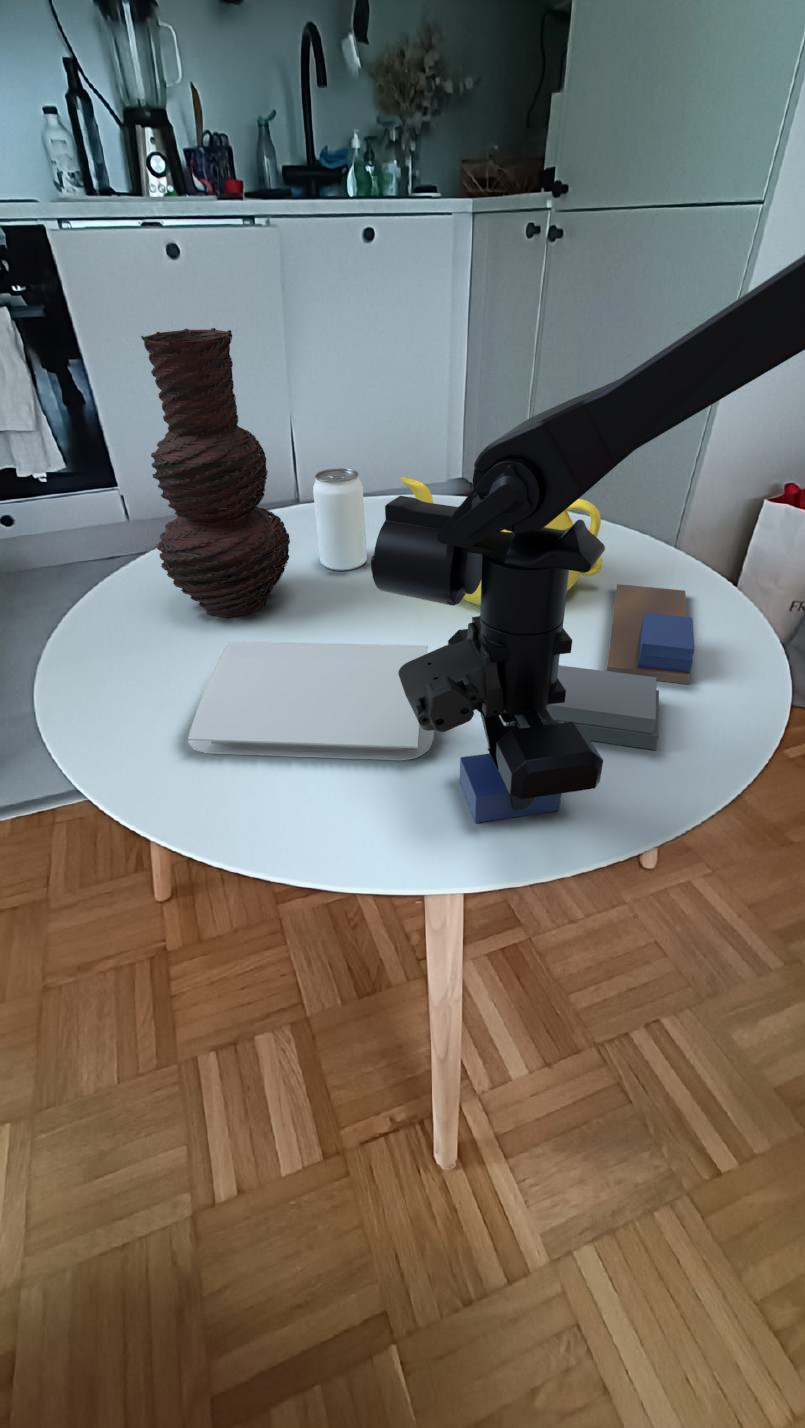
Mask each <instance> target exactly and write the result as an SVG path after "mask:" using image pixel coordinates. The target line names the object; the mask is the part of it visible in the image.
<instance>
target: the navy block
mask: <svg viewBox="0 0 805 1428" xmlns="http://www.w3.org/2000/svg"><path fill="white" fill-rule="evenodd" d="M459 785H460V787H461V790H462V792H463V796H464V798H465V800H466V803H467V805H468V809H469V811H470V814H471V816H472V819H473V821H474V823H475V824H478V823H485V822H491V821H498V820H504V819H511V818H519V817H523V816H531V815H537V814H538V815H539V814H544V813H550V812H556V811H560V809H561V800H562V793H561V794H554V795H548V796H541V797H536V798H535V799H534V801H533V802H532V803H531V804H530V805H529V806H528V807H527V808H526V809H524V810H518V811H514V810H513V808H512V805H511V799H510V794H509V792H508V789H507V787H506V785H505V783H504V781H503V779H502V776H501V774H500V773H499V771H498V770H497V768H496V766H495V764H494V762H493V760H492V757H491V755H490V753H489V752H488V753H482V754H481V753H480V754H475V755H467V756H461V757H460V758H459Z"/></svg>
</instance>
